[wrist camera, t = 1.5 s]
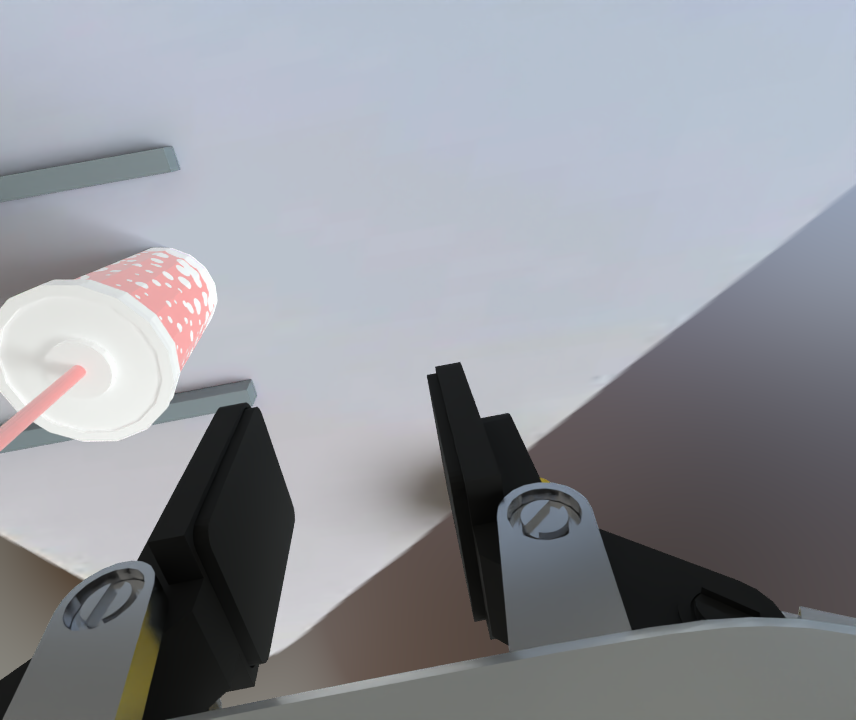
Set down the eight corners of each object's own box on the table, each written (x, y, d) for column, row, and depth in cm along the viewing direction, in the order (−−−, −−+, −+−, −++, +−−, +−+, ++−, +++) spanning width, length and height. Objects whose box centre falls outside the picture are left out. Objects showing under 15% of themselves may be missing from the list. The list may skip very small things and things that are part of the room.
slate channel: (172, 146, 24) (162, 147, 23) (256, 395, 30) (252, 406, 28) (-241, 219, 24) (-270, 224, 23) (-78, 457, 29) (-95, 471, 28)
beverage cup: (208, 219, 26) (48, 320, 13) (249, 336, 28) (148, 515, 15) (82, 244, 25) (-206, 370, 13) (134, 358, 28) (-63, 557, 15)
